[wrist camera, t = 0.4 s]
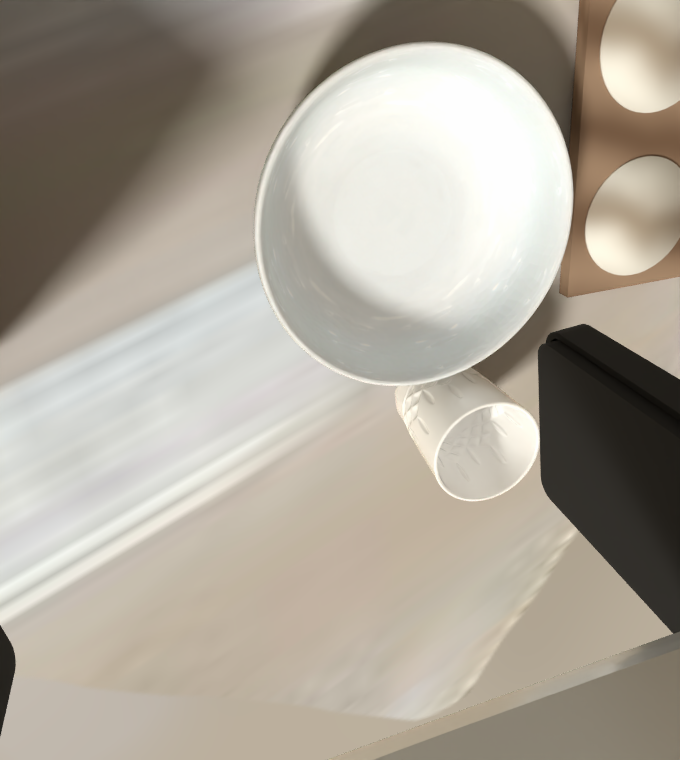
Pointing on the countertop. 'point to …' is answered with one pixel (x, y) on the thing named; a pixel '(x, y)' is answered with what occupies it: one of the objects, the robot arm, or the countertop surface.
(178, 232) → the countertop surface
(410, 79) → the serving bowl
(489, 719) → the robot arm
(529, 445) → the white cup
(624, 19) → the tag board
